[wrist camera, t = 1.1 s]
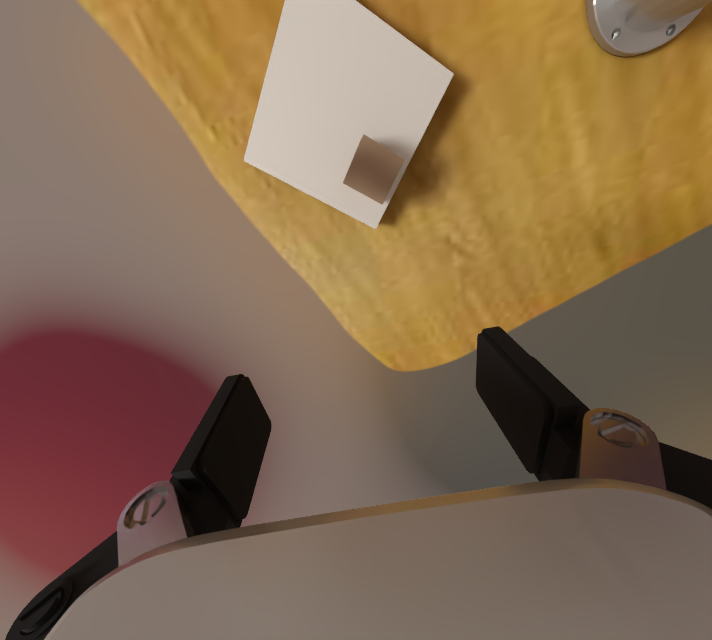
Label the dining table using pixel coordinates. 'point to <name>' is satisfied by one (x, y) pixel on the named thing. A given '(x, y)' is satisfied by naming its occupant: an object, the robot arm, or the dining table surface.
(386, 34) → the dock
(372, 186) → the crate
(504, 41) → the dining table surface
